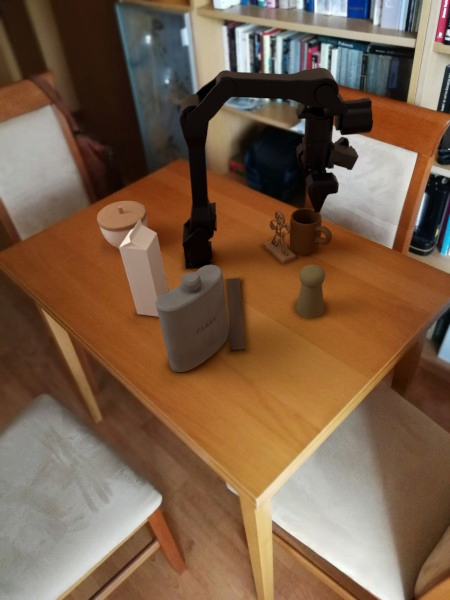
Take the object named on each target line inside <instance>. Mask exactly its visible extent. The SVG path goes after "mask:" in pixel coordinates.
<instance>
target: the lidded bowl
mask: <svg viewBox="0 0 450 600" xmlns="http://www.w3.org/2000/svg"><path fill="white" fill-rule="evenodd" d="M140 219H141V223H142V225H143V226H145V227H147V228H149V225H148V216H147V209H146V207H145V206H144V204H142V203H141V202H139V201H135V200H120V201H115V202H112V203H110V204H107V205H106V206H104V207H102V209H100V211H99V212H98V213H97V215H96V221H97V224H98V226H99V229H100V232H101V233H102V236H103V237H104V239H105V240H106V241H107V243H108V244H110V245H111V246H113V247H115V248H117V249H118V250H120V249H119V247H120V245H121V244H122V242H123V241H124V239H125V238H126V236H127V235H128V233H129V232H130V230H132V229H134V227H135V226H136V224H137V223H138V221H139V220H140Z"/></svg>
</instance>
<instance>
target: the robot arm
mask: <svg viewBox="0 0 450 600" xmlns="http://www.w3.org/2000/svg"><path fill="white" fill-rule="evenodd" d="M339 92H340V88H339V84H338V82H337V80H336V79H335V77H334V75H333V74H332V72H331V71H330V69H327V68H325V67H315V68H309V69H303V70H300V71H296V72H295V73H270V72H248V71H247V72H246V71H245V72H244V71H232V70H228V69H225V70H224V69H223V70H222V71H219V73H218V74H217V75H216V76H215V77H213V78H212V79H211V80H210V81H208V82H207V83H206V84H204V85H203V86H201V87H200V88H199V89H198V90H197V91H196V92H195V93H193V94H192V93H191V94H189V95H187V96H185V97H184V98H183V99H182V101H181V103H180V111H179V112H180V113H179V125H180V128H181V132H182V136H183V139H184V142H185V144H186V147H187V154H188V166H189V179H190V191H191V208H190V216H189V217H188V219H187V220H186V221H185V222H184V223H183V225H182V226H183V227H182V241H181V246H182V249H183V254H184V268H185V269H200V268H201V267H203V266H206V265H212V261H213V260H214V251H213V244H212V243H213V242H212V240H211V239H212V238H213V237H214V235H215V232H218V219H217V217H218V216H217V202H216V201H215V202H210V199H209V189H208V172H207V171H208V170H207V168H208V167H207V153H206V151H207V150H206V149H207V148H206V143H207V138H208V131H209V124H210V121H211V120H212V119H213V118H214V117H216V115H217V114H218V112H219V111H220V110H221V109H222V107H223V106H224V105H225V104H226V102H228V101H229V100H230V98H241V99H242V98H243V99H244V98H247V99H267V100H268V99H270V100H271V99H272V100H289V101H294V102H296V103H298V104H301V105H300V106H299V107H297V108H296V109H295V114H296V117H297V119H298V120H304V136H302V140H301V141H302V143H301V142H300V143H299V145H298V146H296V153H295V156H296V158H297V163H298V167H299V169H300V171H301V174H302V177H303V181H304V183H305V190H306V194H307V196H308V198H309V201H310V203H311V206H312V209H314V211H315V213H321V211H322V208H323V206H324V204H325V202H326V200H327V198H328V196H330V195H334V194H335V195H336V194H338V193H339V189H340V188H339V186H340V182H339V181H338V178H337V176H336V175H335V174H334V173H333V172H332V171H331V172H328V171H327V170H333V169H334V168H335V166H336V167H340V168H344V169H346V170H347V171H352V170H353V169H354V167H355V165H356V163H357V160H358V159H359V154H358V151H356V148H354V147H353V145H350V141H349V140H350V139H348V137H345V136H350V135H351V136H352V135H364V134H365V135H366V134H370V133H371V132H372V131H373V130H372V129H373V126H374V119H373V108H372V107H373V101H372V99H371V98H370V97H361V98H357V99H346V100H345V99H344V98H343V97H342V95H341V93H339ZM334 128H335V131H339V133H340V135H341V137H339V138H338V139H337V140H336V141H334V142H333V135H334V134H333V133H334Z"/></svg>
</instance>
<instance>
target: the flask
mask: <svg viewBox="0 0 450 600" xmlns="http://www.w3.org/2000/svg"><path fill="white" fill-rule="evenodd" d="M180 283H181V284H179V285H177V286H176V287H174V288H172V289H170V290H169V291H168V292H166V293H164V294H162V295H160V296H159V297H158V298H157V299H156V302H155V303H156V308H157V312H158V316H159V317H158V320H159V324H160V329H161V333H162V338H163V342H164V345H165V346H164V347H165V349H166V354H167V357H168V362H169V367H170V368H171V370H172V371H175V372H177V373H184V372H189V371H191V370H193V369H195V368H196V367H198V366H200V365H201V364H203V363H204V362H206V361H207V360H208V359H210V358H211V357H212V356H214V355H215V354H216V353H217V352H219V350H220V349H221V348H222V346H223V345H224V344H225V343H226V342H227V340H228V338H229V336H230V330H229V320H228V312H227V302H226V292H225V282H224V272H223V269H222V268H221V267H220V266H218V265H216V264H211V265H206V266H203V267H200V268H198V270H197V271H195V272H193V271H190V272H187V273H184V274H183V275H181V277H180Z"/></svg>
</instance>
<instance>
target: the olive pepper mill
mask: <svg viewBox="0 0 450 600" xmlns="http://www.w3.org/2000/svg"><path fill="white" fill-rule="evenodd" d="M325 273H326V272H325V270H324V269H323V268H322V267H321V266H320V265H316V264H308V265H304V267H302V269H301V270H300V271H299V281H300V284H301V285H300V288H299V293H298V298H297V302H296V305H295V308H296V309H295V310H296V312H297V313H298V314H299V315H301V316H302V317H304V318H307V319H312V318H317V317H320V316H321V315H322V314H323V313H324V311H325V304H324V293H323V284H324V282H325V280H326V274H325Z"/></svg>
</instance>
